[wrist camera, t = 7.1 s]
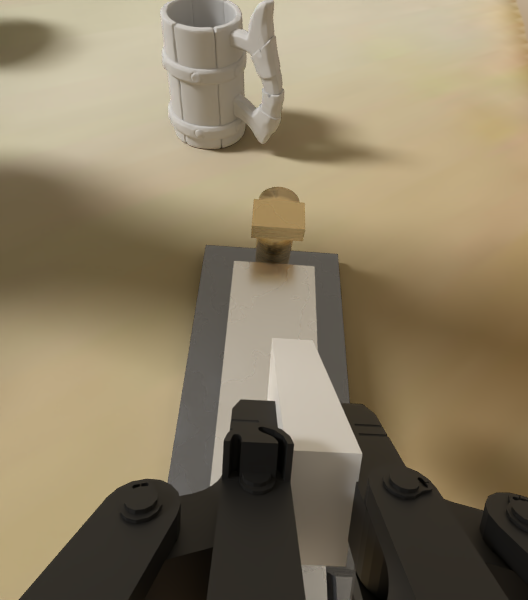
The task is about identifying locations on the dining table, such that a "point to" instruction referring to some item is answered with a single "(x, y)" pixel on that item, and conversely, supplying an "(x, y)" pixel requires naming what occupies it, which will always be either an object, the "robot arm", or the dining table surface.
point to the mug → (219, 71)
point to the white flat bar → (264, 351)
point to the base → (212, 335)
